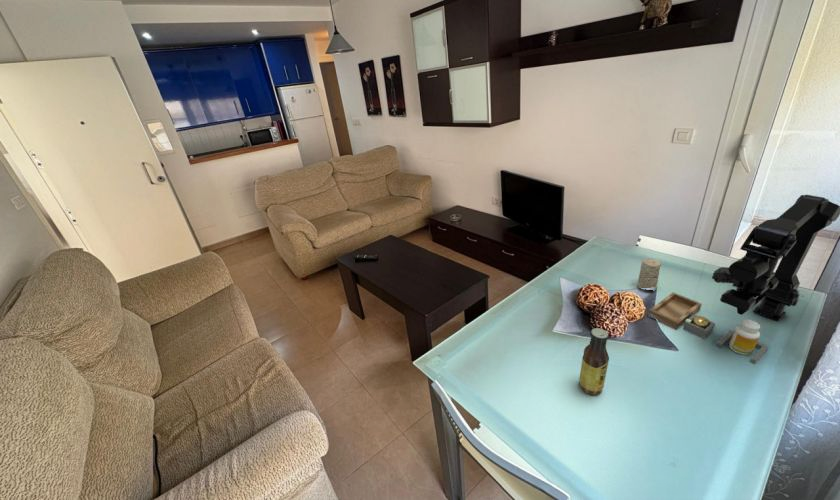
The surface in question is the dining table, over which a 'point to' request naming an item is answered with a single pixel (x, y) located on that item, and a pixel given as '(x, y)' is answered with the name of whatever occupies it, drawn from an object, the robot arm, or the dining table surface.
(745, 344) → the supplement bottle
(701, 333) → the grey angular frames
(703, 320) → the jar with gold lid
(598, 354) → the sauce bottle
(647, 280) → the carving
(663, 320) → the brown wooden tray
